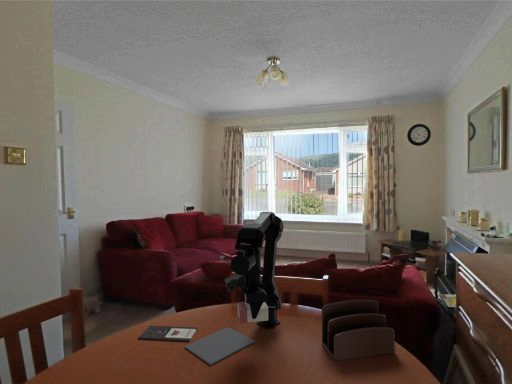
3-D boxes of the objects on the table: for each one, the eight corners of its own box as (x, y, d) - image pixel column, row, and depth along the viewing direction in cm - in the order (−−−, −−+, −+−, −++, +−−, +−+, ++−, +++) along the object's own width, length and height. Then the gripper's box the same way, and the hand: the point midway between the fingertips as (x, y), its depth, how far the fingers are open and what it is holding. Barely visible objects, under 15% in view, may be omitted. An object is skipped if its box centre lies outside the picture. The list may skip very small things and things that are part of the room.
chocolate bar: (150, 325, 114) (197, 327, 112) (150, 328, 114) (197, 330, 112) (138, 337, 105) (188, 340, 103) (138, 340, 105) (188, 343, 103)
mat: (228, 328, 112) (227, 327, 112) (255, 342, 102) (254, 340, 102) (184, 347, 99) (184, 346, 99) (210, 365, 89) (210, 364, 89)
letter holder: (321, 344, 100) (321, 301, 100) (377, 338, 104) (377, 296, 103) (334, 361, 91) (334, 314, 90) (395, 354, 94) (395, 308, 93)
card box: (264, 312, 102) (264, 300, 101) (268, 320, 96) (268, 307, 95) (237, 314, 100) (237, 302, 100) (239, 323, 94) (239, 310, 94)
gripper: (224, 259, 105) (225, 304, 106) (228, 276, 87) (229, 330, 87) (256, 258, 107) (257, 302, 107) (267, 273, 89) (268, 327, 89)
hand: (252, 314), depth 98 cm, fingers closed on card box, 6 cm apart
